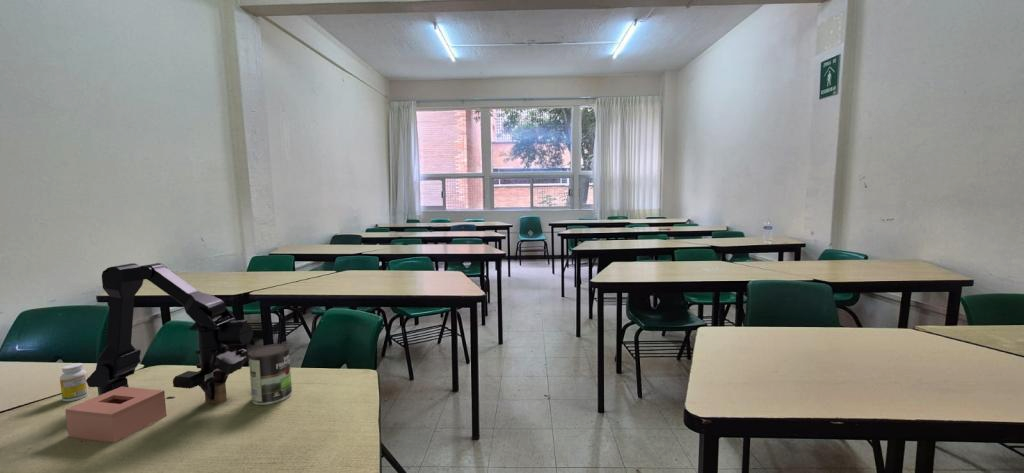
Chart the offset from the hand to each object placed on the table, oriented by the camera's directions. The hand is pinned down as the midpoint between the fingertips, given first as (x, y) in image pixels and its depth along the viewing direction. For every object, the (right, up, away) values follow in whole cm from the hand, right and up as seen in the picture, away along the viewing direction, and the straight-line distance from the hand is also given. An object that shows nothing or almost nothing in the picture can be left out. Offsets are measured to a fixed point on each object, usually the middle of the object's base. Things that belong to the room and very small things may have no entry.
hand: (215, 397), depth 114 cm
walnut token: (0, -1, 0) cm, 1 cm away
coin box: (-16, -2, -12) cm, 20 cm away
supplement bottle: (-43, -1, +3) cm, 43 cm away
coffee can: (+15, -1, +3) cm, 15 cm away
